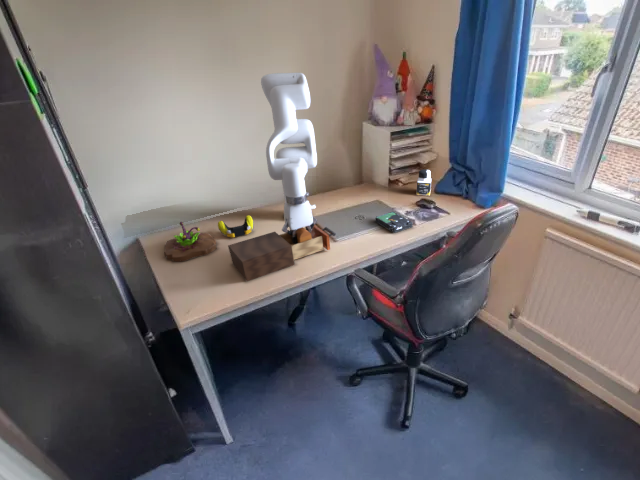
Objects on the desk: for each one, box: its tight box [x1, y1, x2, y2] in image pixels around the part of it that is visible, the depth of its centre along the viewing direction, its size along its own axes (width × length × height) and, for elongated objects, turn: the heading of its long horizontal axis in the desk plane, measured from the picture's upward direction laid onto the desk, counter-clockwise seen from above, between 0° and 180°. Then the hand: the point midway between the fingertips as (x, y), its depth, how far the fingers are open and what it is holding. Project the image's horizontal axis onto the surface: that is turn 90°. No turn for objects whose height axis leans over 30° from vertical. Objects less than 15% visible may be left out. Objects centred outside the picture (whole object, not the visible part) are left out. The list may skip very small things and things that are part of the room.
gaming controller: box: [217, 215, 254, 238], centre depth 166 cm, size 15×6×10 cm
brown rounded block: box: [294, 227, 312, 245], centre depth 149 cm, size 5×8×8 cm, turn 35°
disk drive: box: [374, 211, 414, 234], centre depth 171 cm, size 10×3×15 cm
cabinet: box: [227, 231, 295, 282], centre depth 142 cm, size 19×15×8 cm
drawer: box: [279, 224, 336, 261], centre depth 151 cm, size 22×14×6 cm, turn 126°
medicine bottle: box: [415, 168, 432, 196], centre depth 199 cm, size 7×7×12 cm
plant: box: [163, 221, 218, 263], centre depth 154 cm, size 20×20×11 cm
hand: (302, 241), depth 151 cm, fingers closed on brown rounded block, 5 cm apart
